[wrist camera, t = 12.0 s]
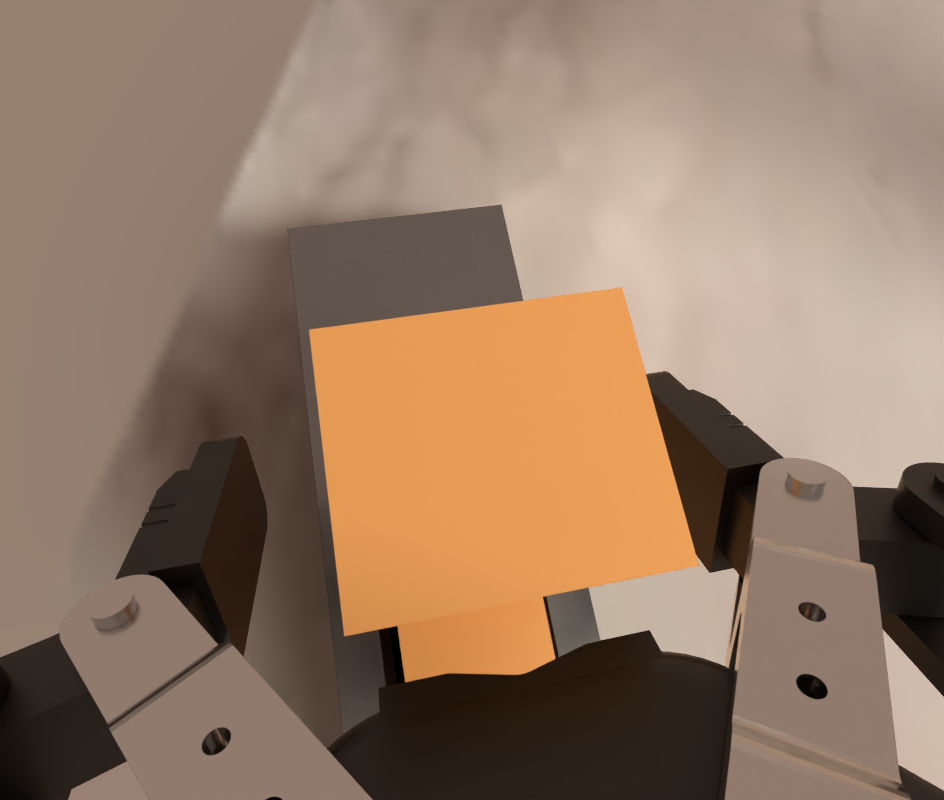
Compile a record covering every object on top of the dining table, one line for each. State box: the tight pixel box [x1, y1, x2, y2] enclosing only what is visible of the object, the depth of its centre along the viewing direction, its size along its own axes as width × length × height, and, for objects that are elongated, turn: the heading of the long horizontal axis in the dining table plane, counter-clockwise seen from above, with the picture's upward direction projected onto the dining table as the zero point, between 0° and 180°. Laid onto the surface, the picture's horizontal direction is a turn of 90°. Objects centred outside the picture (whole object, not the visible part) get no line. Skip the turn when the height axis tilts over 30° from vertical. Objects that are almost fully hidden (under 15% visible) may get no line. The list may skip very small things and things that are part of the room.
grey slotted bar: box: [287, 205, 600, 734], centre depth 18 cm, size 20×7×4 cm, turn 10°
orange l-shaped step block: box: [309, 288, 699, 682], centre depth 13 cm, size 9×3×15 cm, turn 10°
